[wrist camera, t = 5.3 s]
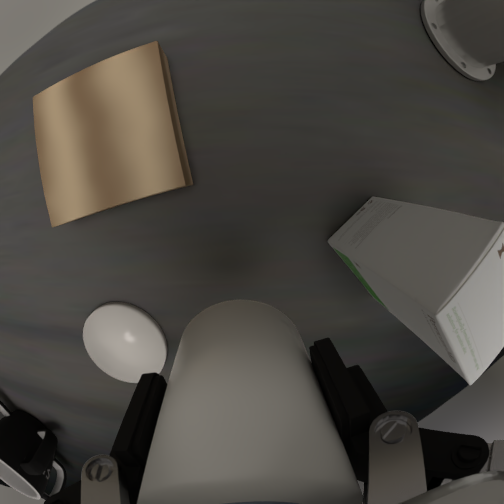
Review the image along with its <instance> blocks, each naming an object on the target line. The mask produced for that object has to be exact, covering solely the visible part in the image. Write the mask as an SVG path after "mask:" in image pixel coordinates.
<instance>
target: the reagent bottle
mask: <svg viewBox="0 0 504 504" xmlns="http://www.w3.org/2000/svg"><path fill="white" fill-rule="evenodd" d="M362 502H363V495H362V492H361V489H360V487H359V484H358V482H357V479H356V476H355V474H354V471H353V468H352V466H351V463H350V461H349V458H348V455H347V453H346V450H345V448H344V445H343V443H342V440H341V438H340V435H339V432H338V430H337V427H336V425H335V422H334V420H333V417H332V415H331V412H330V409H329V407H328V404H327V402H326V399H325V397H324V394H323V392H322V389H321V387H320V384H319V382H318V379H317V377H316V374H315V372H314V369H313V366H312V364H311V361H310V359H309V356H308V354H307V351H306V349H305V346H304V344H303V341H302V339H301V336H300V334H299V332H298V329H297V328H296V326H295V325H294V323H293V322H292V321H291V320H290V318H289V317H288V316H286V315H285V314H284V313H283V312H281V311H280V310H278V309H277V308H275V307H273V306H271V305H268V304H265V303H262V302H258V301H253V300H230V301H224V302H221V303H217V304H215V305H212V306H210V307H208V308H206V309H205V310H203V311H201V312H200V313H199V314H197V315H196V316H195V317H194V318H193V319H192V320H191V321H190V323H189V324H188V325H187V327H186V328H185V330H184V332H183V335H182V338H181V341H180V344H179V348H178V351H177V354H176V357H175V361H174V364H173V368H172V371H171V374H170V378H169V381H168V385H167V388H166V392H165V395H164V399H163V402H162V406H161V410H160V413H159V417H158V421H157V424H156V428H155V432H154V436H153V439H152V443H151V447H150V451H149V455H148V459H147V463H146V467H145V471H144V475H143V479H142V484H141V488H140V492H139V497H138V501H137V504H362Z"/></svg>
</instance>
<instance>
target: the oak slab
mask: <svg viewBox="0 0 504 504" xmlns="http://www.w3.org/2000/svg"><path fill="white" fill-rule="evenodd" d="M33 110H34V124H35V135H36V144H37V152H38V159H39V166H40V172H41V178H42V184H43V189H44V194H45V199H46V203H47V208H48V212H49V216H50V220H51V224H52V228H53V227H56V226H59V225H62V224H65V223H68V222H71V221H75V220H77V219H80V218H83V217H86V216H89V215H92V214H95V213H98V212H101V211H104V210H107V209H110V208H113V207H116V206H120V205H123V204H126V203H129V202H133V201H136V200H139V199H143V198H146V197H149V196H153V195H156V194H160V193H164V192H167V191H171V190H174V189H178V188H182V187H186V186H190V185H193V181H192V176H191V172H190V167H189V163H188V158H187V154H186V149H185V145H184V140H183V135H182V131H181V126H180V121H179V116H178V111H177V106H176V101H175V96H174V91H173V86H172V80H171V75H170V70H169V64H168V59H167V57H166V55H165V54H164V52H163V50H162V48H161V47H160V45H159V43H158V41H155V42H152V43H149V44H146V45H143V46H140V47H137V48H134V49H131V50H129V51H126V52H123V53H121V54H118V55H116V56H113V57H111V58H108V59H106V60H104V61H101V62H99V63H97V64H95V65H92V66H90V67H88V68H86V69H84V70H82V71H80V72H78V73H75V74H73V75H72V76H70V77H68V78H66V79H64V80H62V81H60V82H58V83H56V84H55V85H53V86H51V87H49V88H47V89H46V90H44V91H42V92H41V93H39V94H37V95H36V96H34V97H33Z"/></svg>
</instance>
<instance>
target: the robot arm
mask: <svg viewBox="0 0 504 504" xmlns="http://www.w3.org/2000/svg"><path fill="white" fill-rule="evenodd" d="M421 16H422V20H423V23H424V26H425V28H426V31H427V33H428V34H429V36H430V38H431V40H432V41H433V43H434V45H435V46H436V48H437V49H438V50H439V52H440V53H441V54H442V56H443V57H444V58H445V59H446V60H447V61H448V62H449V63H450V64H451V65H452V66H453V67H454V68H455V69H456V70H457V71H458V72H460V73H461V74H462V75H464V76H466V77H467V78H469V79H471V80H475V81H484V80H488V79H490V78H491V77H492V76H493V75H494V72H495V69H496V64H497V63H500V62H504V0H423V1H422V4H421ZM309 349H310V356H311V362H312V366H313V369H314V372H315V374H316V377H317V379H318V382H319V384H320V387H321V389H322V392H323V394H324V397H325V399H326V402H327V404H328V407H329V409H330V412H331V415H332V417H333V420H334V422H335V425H336V427H337V430H338V432H339V435H340V438H341V440H342V443H343V445H344V448H345V450H346V453H347V455H348V458H349V461H350V463H351V466H352V468H353V471H354V474H355V476H356V479H357V480H359V481H362V482H364V489H363V504H504V440H494V442H493V443H486V442H485V440H484V439H482V438H480V437H478V436H474V435H465V434H457V433H450V432H442V431H435V430H429V429H424V428H418V423H417V421H416V419H415V418H414V417H413V416H412V415H411V414H409V413H407V412H403V411H390V412H387V410H386V408H385V407H384V405H383V403H382V402H381V400H380V398H379V397H378V395H377V393H376V392H375V390H374V389H373V387H372V385H371V384H370V382H369V380H368V379H367V377H366V376H365V374H364V372H363V371H362V369H361V368H360V366H359V365H355V366H352V367H349V368H346V367H345V365H344V363H343V361H342V359H341V358H340V356H339V354H338V352H337V351H336V349H335V347H334V345H333V343H332V342H331V340H330V338H325V339H322V340H318V341H314V346H311V347H309ZM166 388H167V383H166V381H165V379H164V377H163V376H162V375H160V376H159V374H158V373H156V372H154V373H145V374H142V375H141V377H140V380H139V382H138V384H137V387H136V389H135V392H134V394H133V397H132V399H131V402H130V404H129V407H128V409H127V411H126V414H125V416H124V419H123V421H122V424H121V426H120V429H119V431H118V434H117V437H116V439H115V442H114V445H113V447H112V450H111V453H110V455H97V456H94V457H92V458H91V459H89V460H88V461H87V462H86V463H85V464H84V466H83V469H82V476H81V480H80V481H78V482H76V483H75V484H73V485H71V486H69V487H67V488H65V489H63V490H61V491H59V492H57V493H55V494H53V495H51V496H50V497H48V498H47V499H46V501H45V502H44V504H137V501H138V497H139V492H140V488H141V484H142V479H143V475H144V471H145V467H146V463H147V459H148V455H149V451H150V447H151V443H152V439H153V436H154V432H155V428H156V424H157V421H158V417H159V413H160V410H161V406H162V402H163V399H164V395H165V392H166Z"/></svg>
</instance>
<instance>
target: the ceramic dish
mask: <svg viewBox="0 0 504 504" xmlns="http://www.w3.org/2000/svg"><path fill="white" fill-rule="evenodd" d="M83 339H84V344H85V347H86V350H87V352H88V354H89V356H90V357H91V359H92V360H93V361H94V362H95V364H96V365H97V366H98V367H99V368H100V369H101V370H103V371H104V372H105V373H107V374H108V375H110V376H112V377H114V378H116V379H118V380H121V381H125V382H131V383H138V382H139V380H140V377H141V375H142V374H145V373H154V372H156V373H158V374H159V373H160V371H161V370H162V368H163V366H164V363H165V360H166V357H167V352H168V346H167V340H166V337H165V335H164V332H163V330H162V329H161V327H160V325H159V324H158V323H157V322H156V320H155V319H154V318H153V317H152V316H150V315H149V314H148V313H147V312H145V311H144V310H142V309H141V308H139V307H137V306H135V305H132V304H129V303H125V302H109V303H105V304H103V305H101V306H99V307H98V308H97V309H96V310H95V311H94V312H93V313H92V314H91V315H90V316H89V317H88V318H87V320H86V322H85V325H84V328H83Z"/></svg>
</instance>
